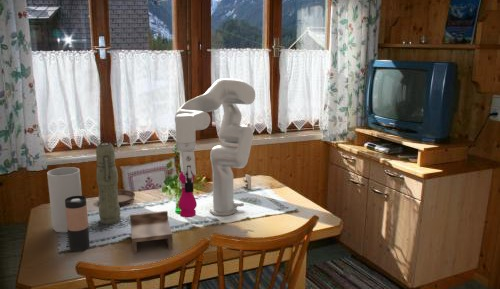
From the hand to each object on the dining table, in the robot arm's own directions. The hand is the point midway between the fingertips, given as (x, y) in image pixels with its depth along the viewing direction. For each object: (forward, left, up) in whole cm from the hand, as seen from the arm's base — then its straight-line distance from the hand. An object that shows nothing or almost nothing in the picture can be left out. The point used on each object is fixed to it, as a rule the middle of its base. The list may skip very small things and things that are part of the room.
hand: (188, 189), depth 178 cm
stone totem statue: (+31, -27, -21) cm, 46 cm away
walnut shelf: (+15, 0, -21) cm, 26 cm away
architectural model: (-40, -54, -21) cm, 70 cm away
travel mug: (+42, -2, -21) cm, 47 cm away
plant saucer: (+28, -52, -21) cm, 63 cm away
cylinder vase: (+48, -24, -21) cm, 58 cm away
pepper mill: (0, +1, -11) cm, 11 cm away
